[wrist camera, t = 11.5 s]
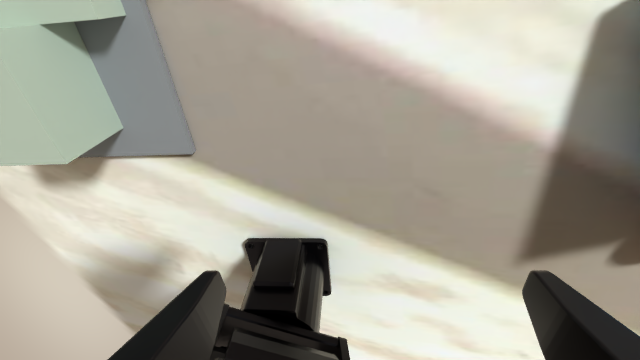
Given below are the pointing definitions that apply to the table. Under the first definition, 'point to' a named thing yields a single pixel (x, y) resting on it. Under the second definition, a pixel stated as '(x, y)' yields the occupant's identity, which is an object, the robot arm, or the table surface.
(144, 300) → the table surface
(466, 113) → the table surface
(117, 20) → the mat
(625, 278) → the table surface
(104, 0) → the c link
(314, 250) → the robot arm
